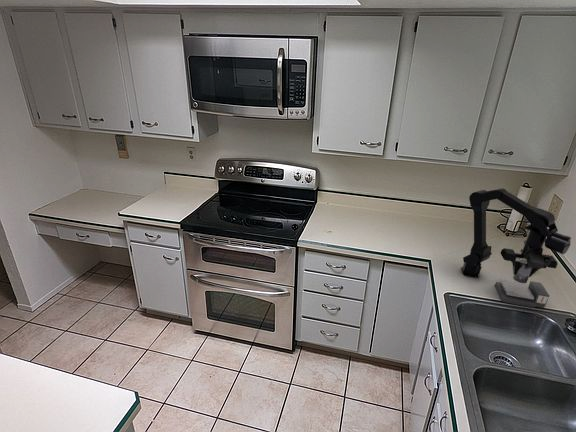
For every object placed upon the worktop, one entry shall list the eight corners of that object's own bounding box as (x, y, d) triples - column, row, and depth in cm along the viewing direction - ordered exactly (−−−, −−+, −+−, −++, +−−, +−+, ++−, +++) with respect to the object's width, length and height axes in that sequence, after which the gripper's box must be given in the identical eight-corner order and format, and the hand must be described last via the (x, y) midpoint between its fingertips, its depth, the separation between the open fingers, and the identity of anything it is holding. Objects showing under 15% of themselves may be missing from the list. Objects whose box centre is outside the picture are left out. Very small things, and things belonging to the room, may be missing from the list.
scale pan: (506, 294, 145) (507, 292, 145) (499, 281, 154) (500, 279, 153) (533, 299, 143) (534, 297, 142) (525, 285, 152) (526, 283, 151)
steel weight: (515, 281, 145) (521, 265, 141) (511, 275, 149) (517, 259, 146) (528, 284, 143) (535, 267, 140) (524, 277, 148) (531, 261, 144)
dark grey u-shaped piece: (502, 301, 146) (506, 289, 143) (494, 285, 156) (498, 273, 154) (545, 309, 142) (551, 297, 140) (534, 292, 153) (539, 280, 150)
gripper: (514, 248, 134) (501, 282, 140) (570, 257, 130) (554, 291, 136) (506, 235, 143) (494, 267, 150) (558, 242, 139) (543, 275, 146)
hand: (521, 275), depth 145 cm, fingers closed on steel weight, 5 cm apart
